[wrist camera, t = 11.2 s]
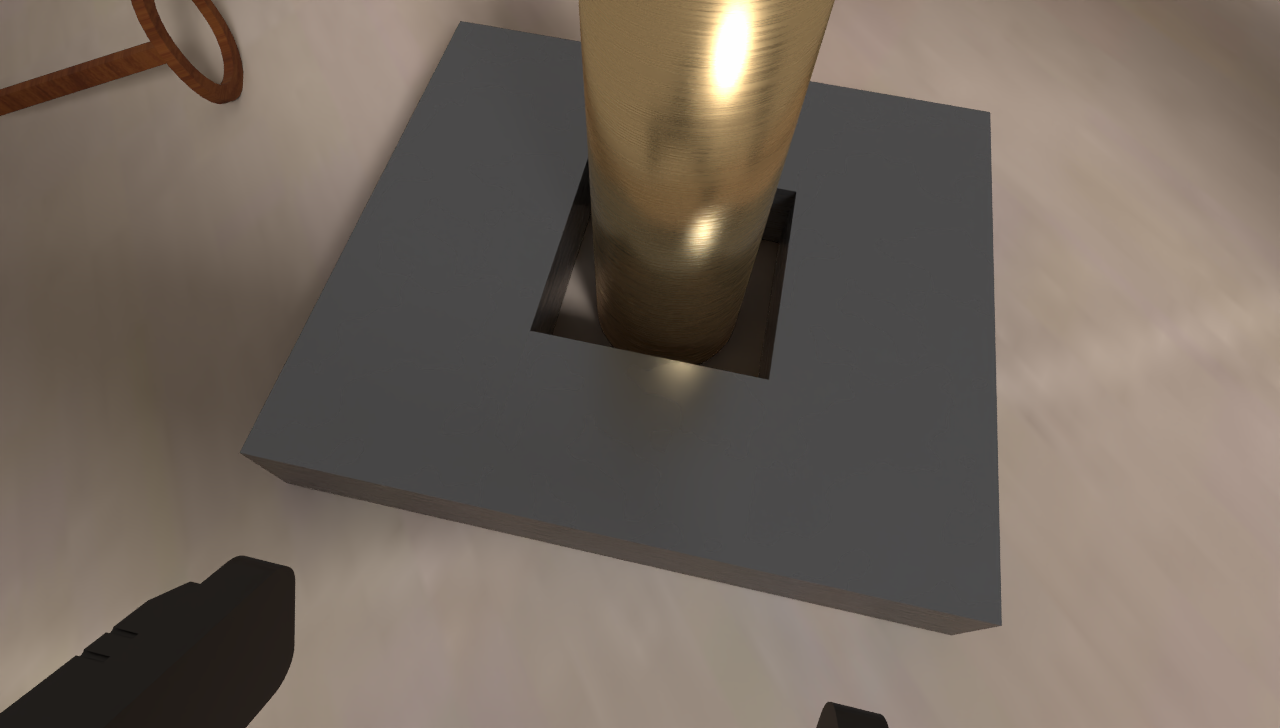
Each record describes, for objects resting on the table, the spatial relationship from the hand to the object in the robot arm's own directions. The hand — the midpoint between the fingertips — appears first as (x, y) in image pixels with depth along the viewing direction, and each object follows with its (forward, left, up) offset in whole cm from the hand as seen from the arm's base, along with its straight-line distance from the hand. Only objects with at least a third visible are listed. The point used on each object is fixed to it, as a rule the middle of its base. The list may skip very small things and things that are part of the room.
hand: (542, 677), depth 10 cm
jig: (0, -11, -7) cm, 13 cm away
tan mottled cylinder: (0, -11, -7) cm, 13 cm away
